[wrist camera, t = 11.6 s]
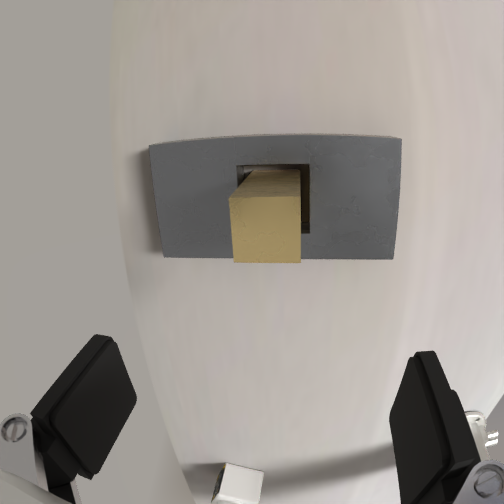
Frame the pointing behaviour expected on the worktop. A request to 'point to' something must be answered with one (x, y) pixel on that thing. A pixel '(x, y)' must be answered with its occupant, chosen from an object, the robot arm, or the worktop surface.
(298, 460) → the worktop surface
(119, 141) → the worktop surface
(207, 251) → the grey socket block
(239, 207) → the brass peg
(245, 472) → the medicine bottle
